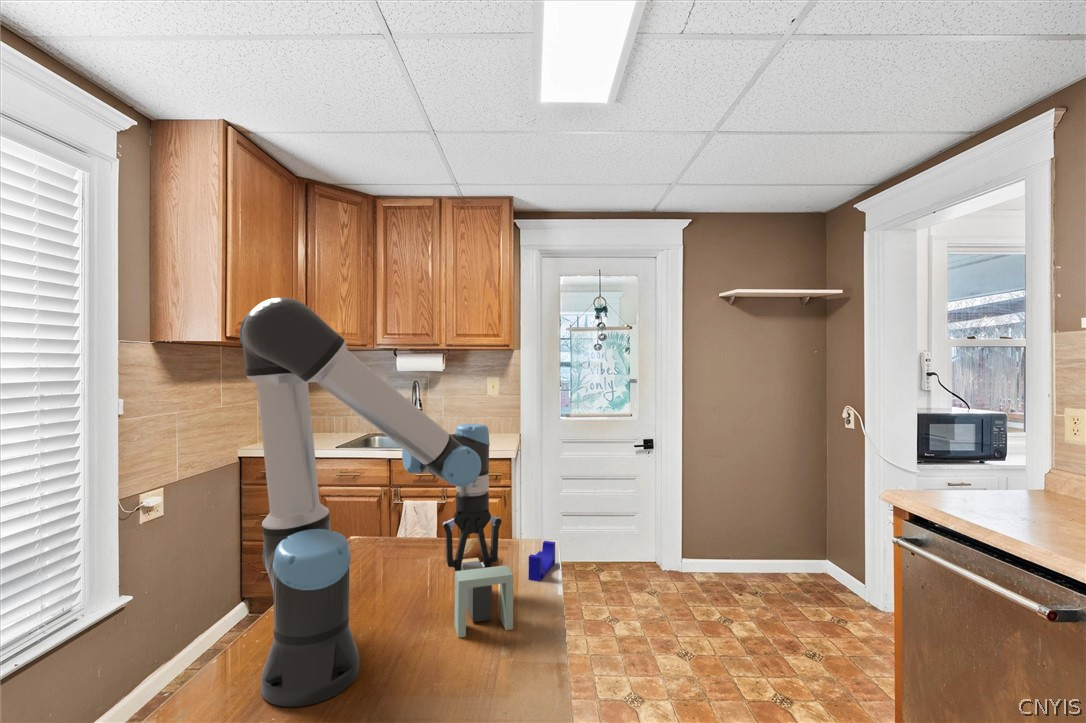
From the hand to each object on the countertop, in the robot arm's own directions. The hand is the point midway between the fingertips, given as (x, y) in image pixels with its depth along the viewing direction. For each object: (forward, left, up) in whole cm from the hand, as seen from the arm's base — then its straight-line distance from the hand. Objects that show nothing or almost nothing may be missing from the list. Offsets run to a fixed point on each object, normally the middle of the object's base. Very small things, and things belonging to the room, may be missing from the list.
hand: (471, 593), depth 118 cm
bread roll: (+4, +20, -1) cm, 20 cm away
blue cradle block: (+19, +9, -1) cm, 21 cm away
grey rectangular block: (0, -4, 0) cm, 4 cm away
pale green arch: (0, -14, -1) cm, 14 cm away
